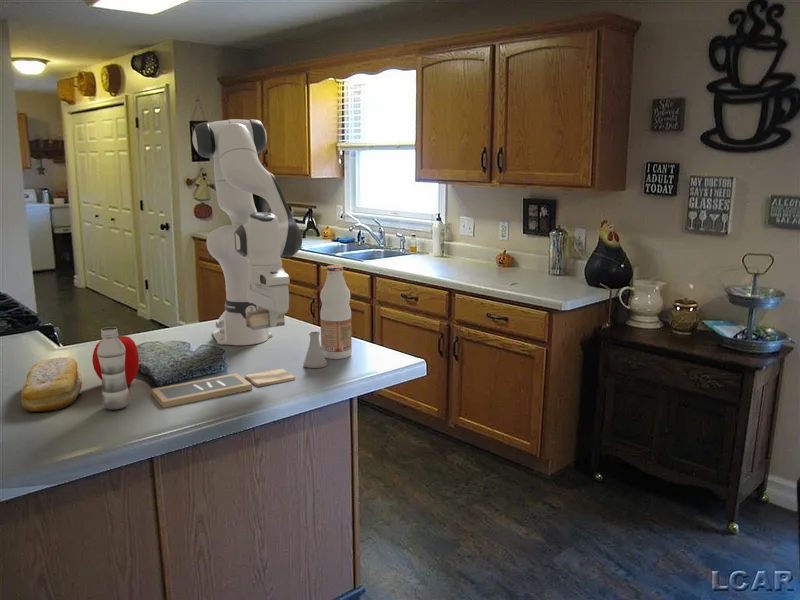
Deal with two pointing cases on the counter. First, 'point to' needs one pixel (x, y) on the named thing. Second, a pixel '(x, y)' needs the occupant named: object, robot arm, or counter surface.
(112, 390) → the plastic bottle
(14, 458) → the counter surface
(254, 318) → the block
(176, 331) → the counter surface
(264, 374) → the pad
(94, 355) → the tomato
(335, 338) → the fruit juice
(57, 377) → the bread
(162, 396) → the chalkboard
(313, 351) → the flask
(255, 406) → the counter surface
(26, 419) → the counter surface
